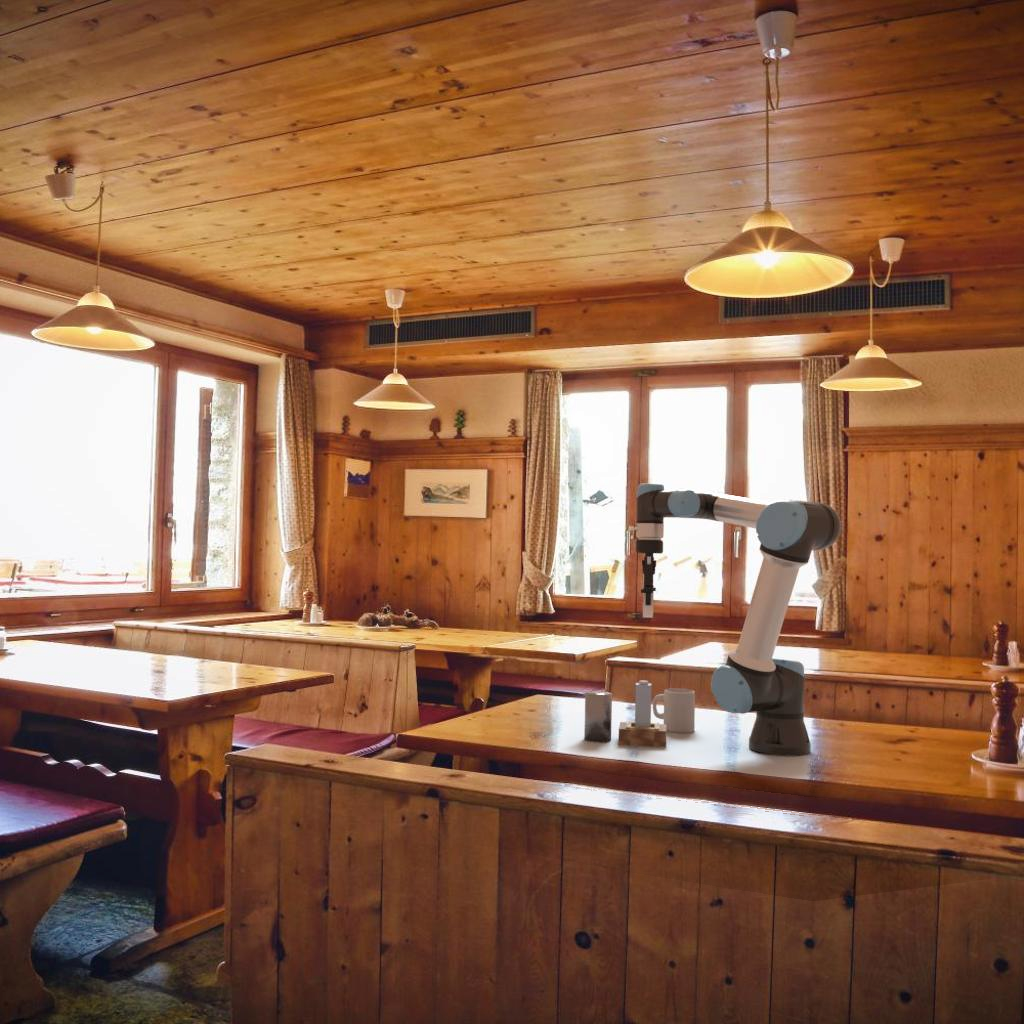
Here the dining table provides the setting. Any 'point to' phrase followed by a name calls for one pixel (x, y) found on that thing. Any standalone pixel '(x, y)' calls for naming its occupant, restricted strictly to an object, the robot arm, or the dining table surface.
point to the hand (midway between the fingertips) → (648, 616)
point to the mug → (677, 710)
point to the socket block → (642, 735)
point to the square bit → (643, 704)
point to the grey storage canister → (598, 716)
